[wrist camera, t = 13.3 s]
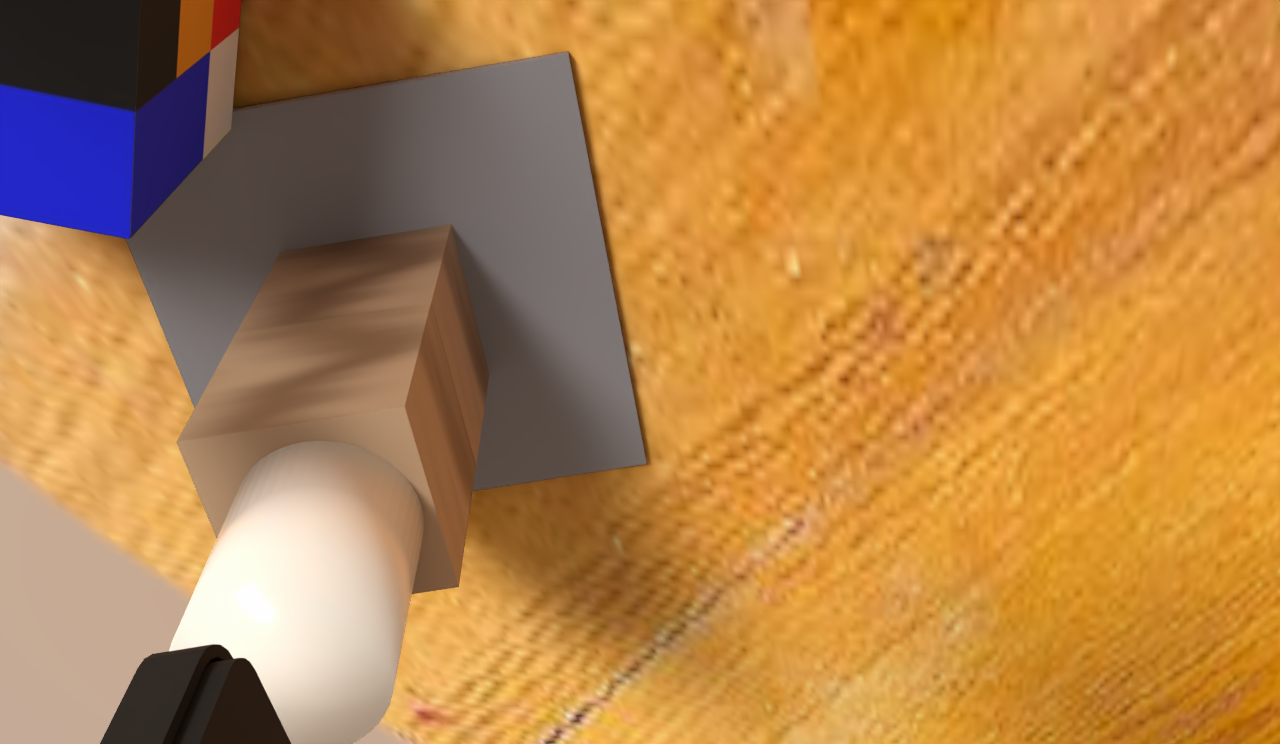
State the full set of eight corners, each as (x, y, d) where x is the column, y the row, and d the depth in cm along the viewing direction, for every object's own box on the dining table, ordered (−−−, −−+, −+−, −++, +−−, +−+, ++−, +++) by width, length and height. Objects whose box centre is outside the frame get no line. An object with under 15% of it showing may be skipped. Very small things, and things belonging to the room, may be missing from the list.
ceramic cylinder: (397, 427, 31) (359, 577, 26) (443, 576, 33) (417, 740, 28) (209, 456, 31) (134, 610, 26) (268, 603, 34) (210, 770, 28)
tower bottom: (451, 223, 41) (431, 301, 36) (489, 373, 44) (476, 466, 39) (280, 251, 41) (235, 333, 36) (329, 399, 44) (295, 493, 39)
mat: (568, 51, 39) (568, 54, 38) (645, 458, 47) (646, 463, 46) (88, 133, 39) (84, 137, 39) (245, 520, 47) (242, 526, 47)
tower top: (430, 301, 36) (404, 406, 31) (476, 466, 39) (458, 587, 34) (235, 333, 36) (176, 442, 31) (294, 493, 39) (250, 618, 34)
